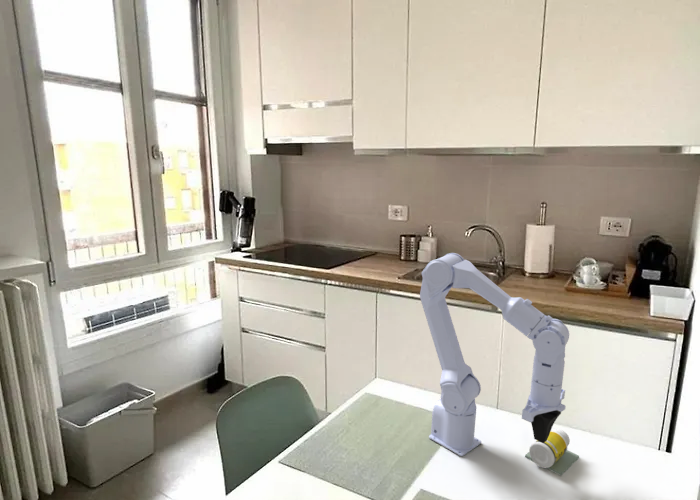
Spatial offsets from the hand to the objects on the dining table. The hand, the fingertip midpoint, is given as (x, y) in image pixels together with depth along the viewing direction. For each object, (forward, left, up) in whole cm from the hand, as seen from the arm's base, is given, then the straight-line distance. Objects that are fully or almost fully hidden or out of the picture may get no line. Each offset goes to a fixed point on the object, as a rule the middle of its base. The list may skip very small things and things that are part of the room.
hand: (540, 439), depth 97 cm
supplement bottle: (0, +1, -4) cm, 4 cm away
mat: (0, +7, -7) cm, 10 cm away
